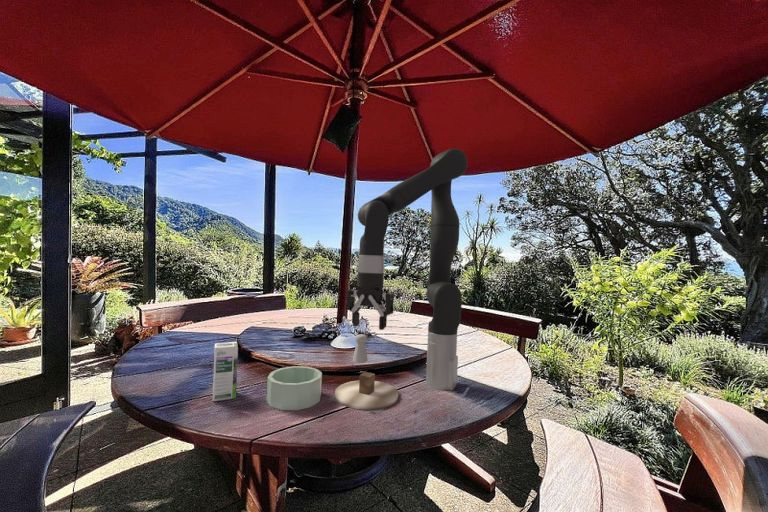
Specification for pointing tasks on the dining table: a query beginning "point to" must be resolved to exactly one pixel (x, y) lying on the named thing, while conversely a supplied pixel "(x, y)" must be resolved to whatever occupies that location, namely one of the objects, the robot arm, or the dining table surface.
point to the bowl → (294, 387)
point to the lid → (366, 393)
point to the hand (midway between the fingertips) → (368, 327)
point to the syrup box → (225, 371)
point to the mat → (367, 410)
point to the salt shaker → (360, 350)
